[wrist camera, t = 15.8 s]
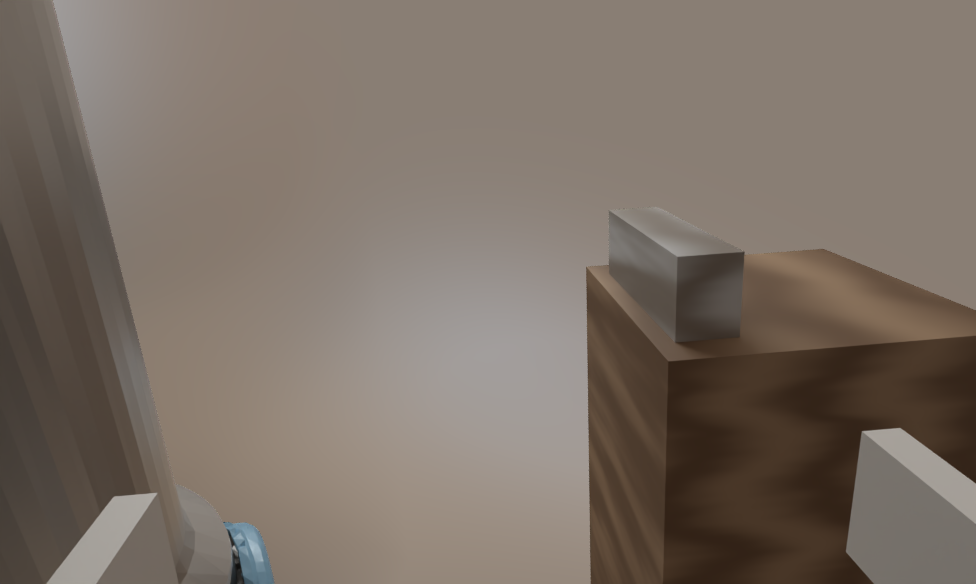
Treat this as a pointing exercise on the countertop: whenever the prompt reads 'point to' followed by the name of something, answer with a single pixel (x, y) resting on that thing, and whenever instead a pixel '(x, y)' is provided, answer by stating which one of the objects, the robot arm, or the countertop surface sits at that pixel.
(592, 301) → the brown wooden tall block
